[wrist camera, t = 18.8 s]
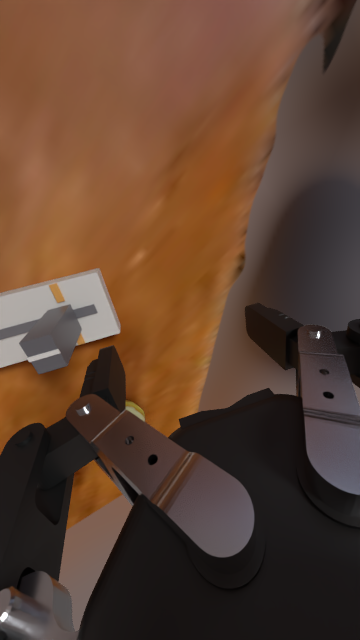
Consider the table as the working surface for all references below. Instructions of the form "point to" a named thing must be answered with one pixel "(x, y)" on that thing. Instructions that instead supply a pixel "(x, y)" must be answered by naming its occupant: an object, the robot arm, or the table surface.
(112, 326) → the fader console
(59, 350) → the fader knob
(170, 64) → the table surface
